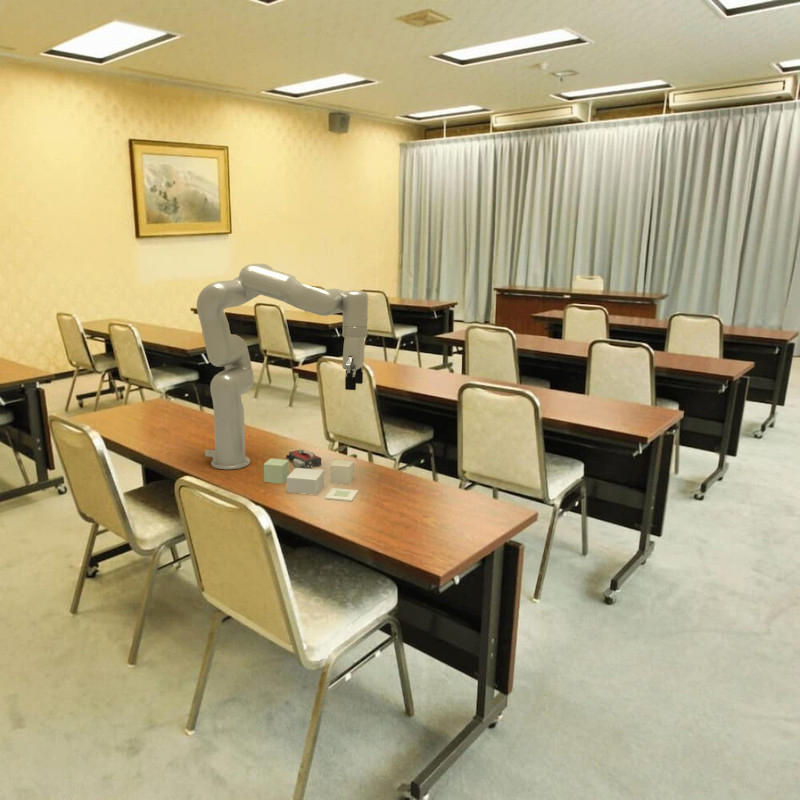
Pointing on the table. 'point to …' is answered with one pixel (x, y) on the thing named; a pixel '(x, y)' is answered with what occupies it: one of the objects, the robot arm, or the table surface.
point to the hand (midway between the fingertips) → (354, 386)
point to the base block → (305, 481)
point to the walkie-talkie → (304, 459)
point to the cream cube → (342, 471)
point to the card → (341, 494)
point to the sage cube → (276, 470)
